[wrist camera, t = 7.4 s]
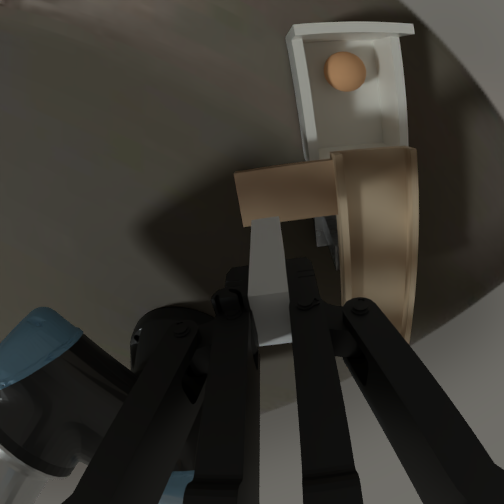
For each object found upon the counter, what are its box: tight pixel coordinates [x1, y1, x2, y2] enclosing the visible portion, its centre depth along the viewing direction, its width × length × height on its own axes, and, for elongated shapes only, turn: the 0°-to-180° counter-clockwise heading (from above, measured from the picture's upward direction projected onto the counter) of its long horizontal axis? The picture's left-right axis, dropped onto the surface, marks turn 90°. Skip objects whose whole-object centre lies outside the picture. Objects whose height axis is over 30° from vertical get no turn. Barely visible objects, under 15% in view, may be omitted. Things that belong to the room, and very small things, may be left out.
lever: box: [234, 146, 419, 368], centre depth 25 cm, size 18×13×5 cm
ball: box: [324, 52, 366, 92], centre depth 23 cm, size 4×4×4 cm
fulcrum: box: [314, 215, 340, 271], centre depth 29 cm, size 6×8×8 cm
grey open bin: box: [285, 22, 415, 161], centre depth 23 cm, size 9×12×8 cm
